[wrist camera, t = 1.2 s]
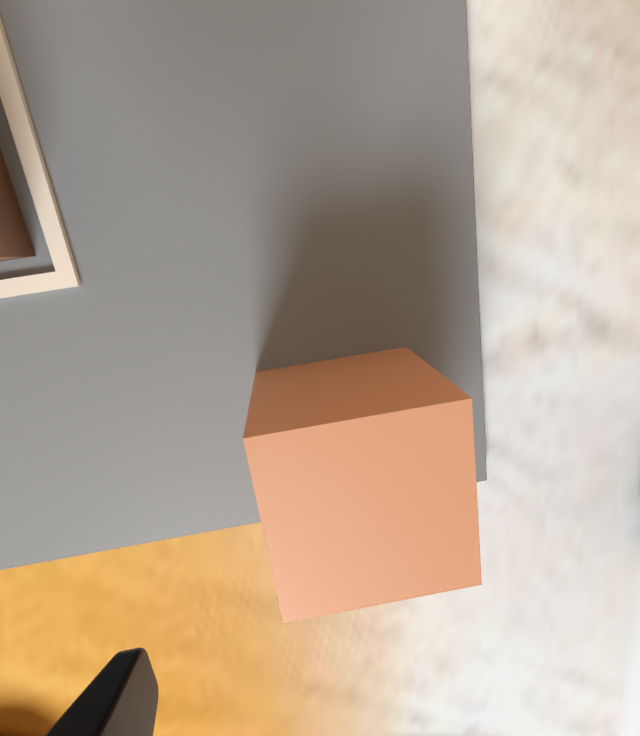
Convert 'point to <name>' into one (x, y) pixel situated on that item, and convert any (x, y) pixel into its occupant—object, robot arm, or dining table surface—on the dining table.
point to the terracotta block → (363, 482)
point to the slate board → (215, 241)
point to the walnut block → (11, 221)
